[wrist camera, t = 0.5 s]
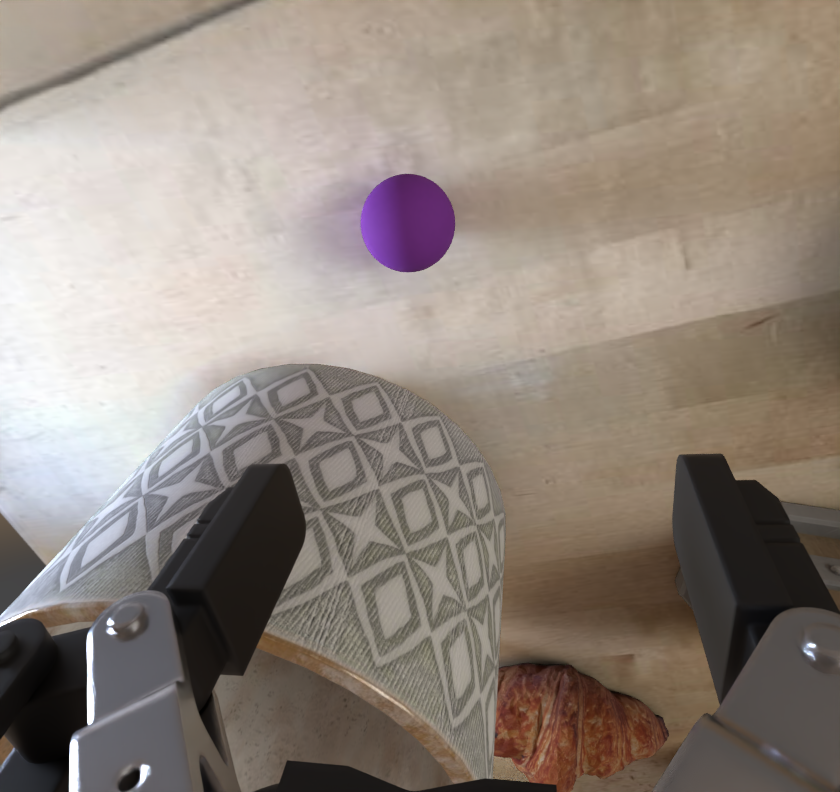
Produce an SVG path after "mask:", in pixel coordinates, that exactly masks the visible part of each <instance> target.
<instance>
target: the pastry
mask: <svg viewBox="0 0 840 792" xmlns="http://www.w3.org/2000/svg"><path fill="white" fill-rule="evenodd" d="M668 736H669V733H668V730H667V728H666V727H665V723H664V720H663V718H662V717H661V716H658V715H654V713H652V711H651V710H650V709H649V707H647V706H646V705H645V704H644V703H643V702H641V701H640V700H638V699H635V698H633V697H631V696H628V695H623V694H621V693H619V692H612V691H610V690H609V689H607V688H606V687H605V686H603V685H602V684H601V683H600V682H598V681H597V680H596V679H594V678H592V677H590V676H587V675H583V674H581V673H579V672H578V671H577V670H576V669H575V668H574V667H573V666H572V665H569V664H566V665H534V664H531V663H522V664H519V665H512V666H504V667H502V668H498V686H497V705H496V724H495V742H494V756H498V757H504V758H512V761H513V763H514V764H515V766H516V767H517V769H518V770H519V771H521V772H523V773H524V774H525V775H526V777H527V778H528V780H529V781H530V782H531V783H542V784H553V785H556V787H557V792H571V791H572V789H573V786H574V783H575V781H576V779H577V778H579V777H580V776H582V775H583V774H588V775H591V776H593V775H596V776H598V777H599V778H600V779H604V778H607V777H609V776H611V775H613V774H614V773H616V772H618V771H621V770H623V769H624V767H625V766H626V765H629V764H630V763H631V762H633V761H635V760H638V759H644V758H648V757H651V756H653V755H654V754H655V753H656V751H657V750H659V749H660V748H661V747H662V746H663V744H664V743H665V741H667V737H668Z"/></svg>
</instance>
